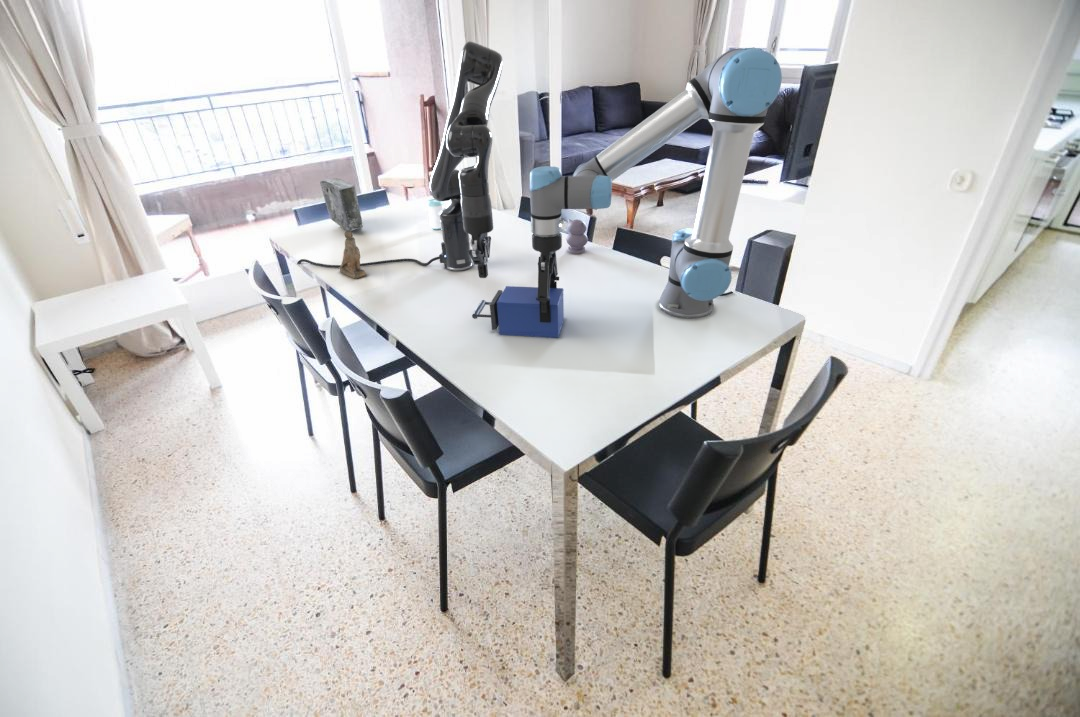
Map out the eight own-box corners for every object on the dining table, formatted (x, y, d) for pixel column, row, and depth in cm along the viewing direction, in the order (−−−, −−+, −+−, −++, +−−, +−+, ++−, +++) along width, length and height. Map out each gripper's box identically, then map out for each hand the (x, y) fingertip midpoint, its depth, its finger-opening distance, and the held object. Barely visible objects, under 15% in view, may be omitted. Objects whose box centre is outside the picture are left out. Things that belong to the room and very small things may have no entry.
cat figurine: (592, 250, 190) (592, 219, 184) (579, 256, 185) (579, 224, 179) (574, 246, 195) (575, 215, 189) (561, 251, 191) (561, 220, 184)
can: (445, 229, 220) (441, 202, 214) (429, 230, 220) (425, 202, 214) (447, 224, 226) (444, 198, 220) (432, 225, 226) (428, 198, 220)
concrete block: (368, 232, 220) (358, 186, 209) (348, 237, 216) (336, 189, 205) (349, 220, 239) (338, 176, 228) (330, 223, 234) (319, 179, 224)
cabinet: (499, 334, 136) (496, 302, 131) (508, 316, 145) (506, 285, 140) (558, 337, 133) (557, 304, 128) (563, 319, 142) (563, 288, 137)
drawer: (473, 328, 137) (470, 303, 133) (482, 313, 145) (479, 289, 141) (545, 332, 134) (544, 306, 130) (550, 316, 142) (550, 292, 138)
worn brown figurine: (368, 281, 178) (362, 235, 166) (353, 285, 175) (347, 238, 163) (352, 266, 184) (346, 221, 172) (338, 270, 181) (331, 224, 169)
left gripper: (484, 219, 118) (490, 287, 127) (497, 205, 129) (503, 268, 138) (454, 219, 120) (462, 286, 129) (470, 205, 131) (477, 267, 140)
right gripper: (554, 248, 114) (556, 333, 125) (567, 219, 133) (567, 295, 145) (522, 248, 115) (527, 331, 127) (540, 219, 134) (542, 294, 146)
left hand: (483, 276), depth 133 cm, fingers closed
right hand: (548, 312), depth 136 cm, fingers closed on cabinet, 11 cm apart
